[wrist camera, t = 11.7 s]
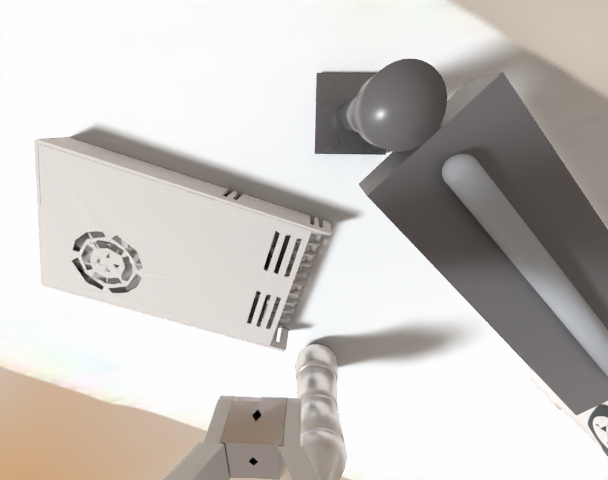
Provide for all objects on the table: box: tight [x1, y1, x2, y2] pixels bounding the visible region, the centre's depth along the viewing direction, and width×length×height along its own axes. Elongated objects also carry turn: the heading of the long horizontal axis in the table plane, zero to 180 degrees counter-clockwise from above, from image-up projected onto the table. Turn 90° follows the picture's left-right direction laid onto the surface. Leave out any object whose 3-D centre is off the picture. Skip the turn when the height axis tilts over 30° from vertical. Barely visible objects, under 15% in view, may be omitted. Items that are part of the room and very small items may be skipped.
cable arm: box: [353, 59, 608, 416], centre depth 17 cm, size 28×8×5 cm, turn 46°
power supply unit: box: [35, 137, 332, 351], centre depth 36 cm, size 19×33×5 cm, turn 72°
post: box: [315, 73, 386, 155], centre depth 24 cm, size 8×8×16 cm
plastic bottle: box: [295, 344, 347, 480], centre depth 36 cm, size 6×7×20 cm
